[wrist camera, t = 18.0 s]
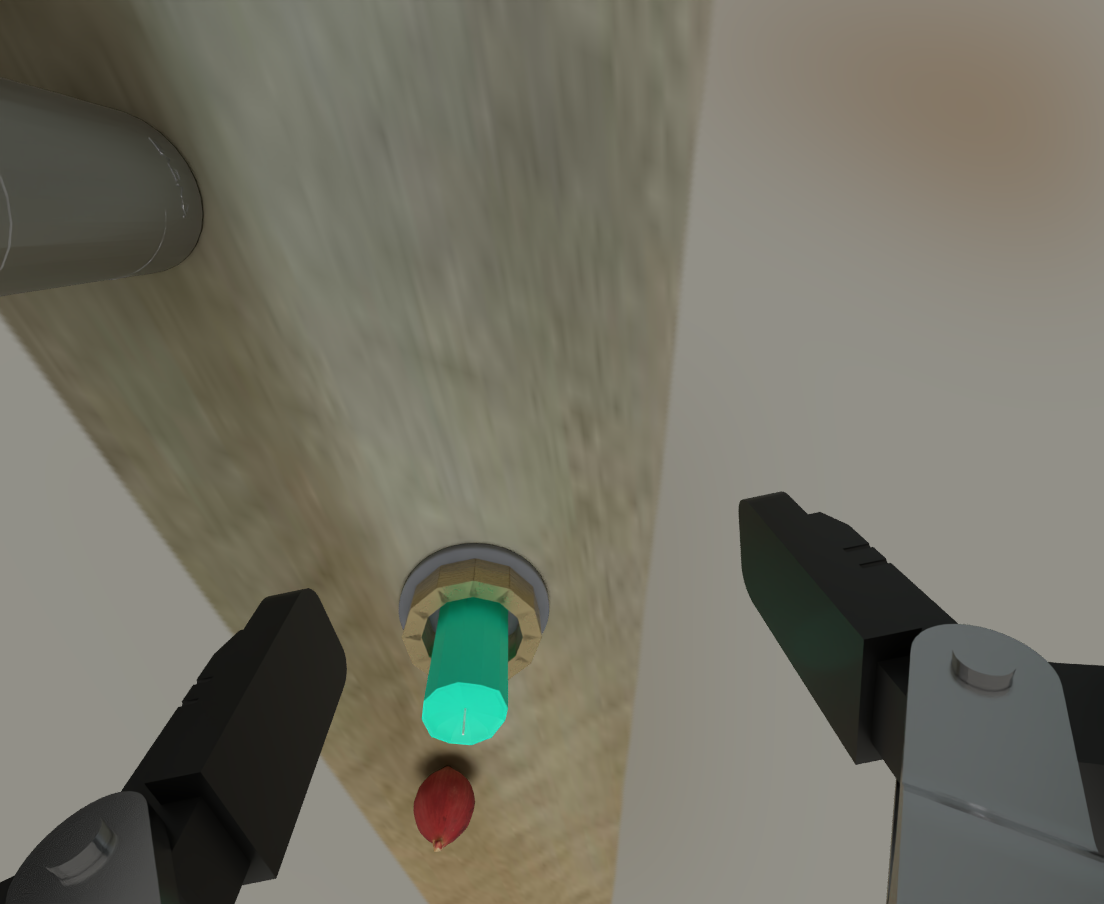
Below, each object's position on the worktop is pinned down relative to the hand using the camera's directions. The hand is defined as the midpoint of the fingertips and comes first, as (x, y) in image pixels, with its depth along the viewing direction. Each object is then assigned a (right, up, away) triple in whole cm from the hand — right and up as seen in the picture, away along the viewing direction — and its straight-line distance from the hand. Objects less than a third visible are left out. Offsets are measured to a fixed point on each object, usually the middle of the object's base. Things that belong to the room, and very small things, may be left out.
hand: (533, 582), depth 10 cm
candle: (-6, -11, +37) cm, 39 cm away
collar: (-6, -11, +37) cm, 40 cm away
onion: (-10, -31, +46) cm, 56 cm away
